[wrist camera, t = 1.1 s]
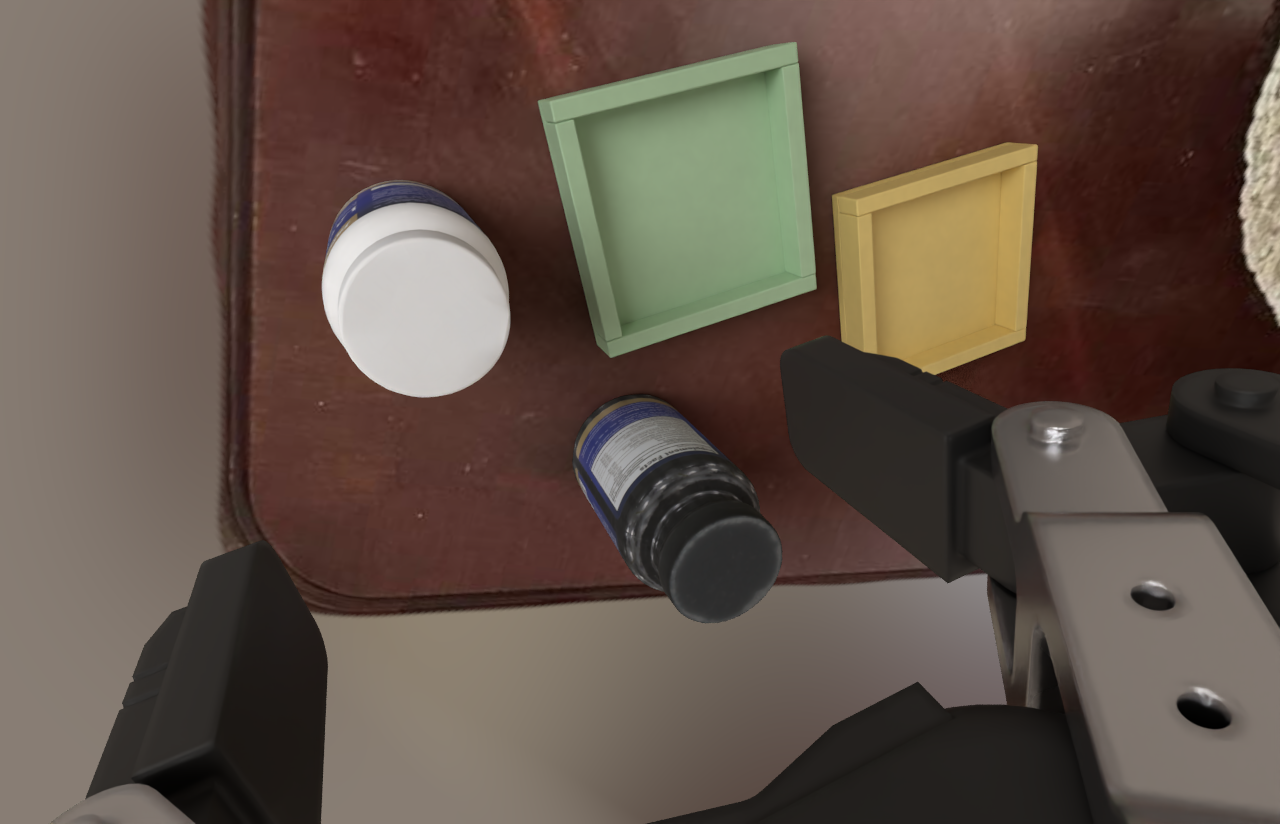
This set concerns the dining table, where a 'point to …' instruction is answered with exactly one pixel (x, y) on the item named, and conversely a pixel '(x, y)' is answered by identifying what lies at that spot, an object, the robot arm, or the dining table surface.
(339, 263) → the pill bottle
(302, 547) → the dining table surface
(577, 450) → the pill bottle
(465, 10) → the dining table surface
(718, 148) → the green tray
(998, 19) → the dining table surface
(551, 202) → the dining table surface
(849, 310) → the yellow tray
